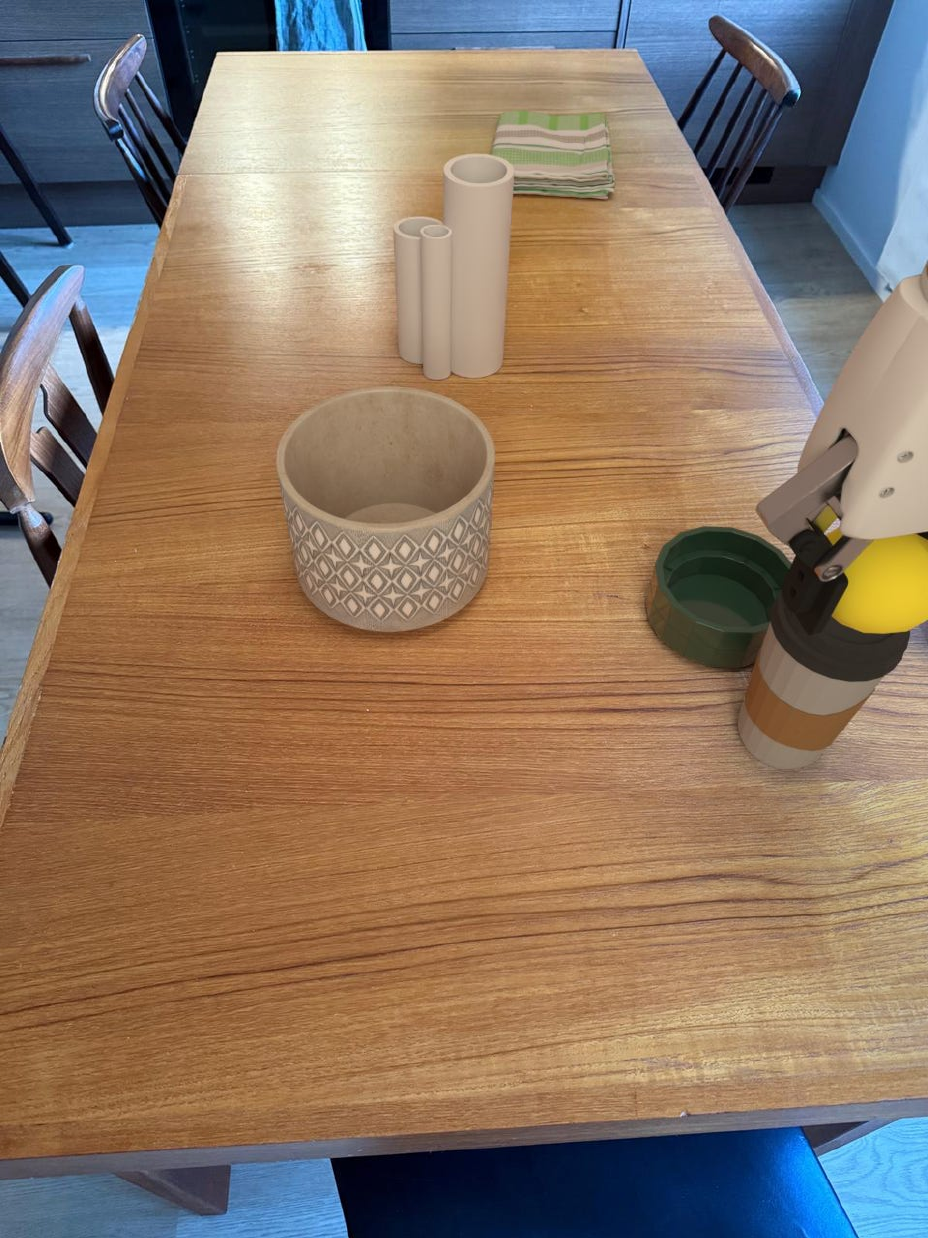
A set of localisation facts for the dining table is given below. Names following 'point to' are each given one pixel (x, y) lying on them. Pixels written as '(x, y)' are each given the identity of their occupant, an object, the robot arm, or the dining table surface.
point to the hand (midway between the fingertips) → (860, 599)
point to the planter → (388, 506)
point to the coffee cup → (810, 686)
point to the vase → (457, 272)
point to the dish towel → (557, 153)
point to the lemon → (886, 585)
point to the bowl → (715, 594)
